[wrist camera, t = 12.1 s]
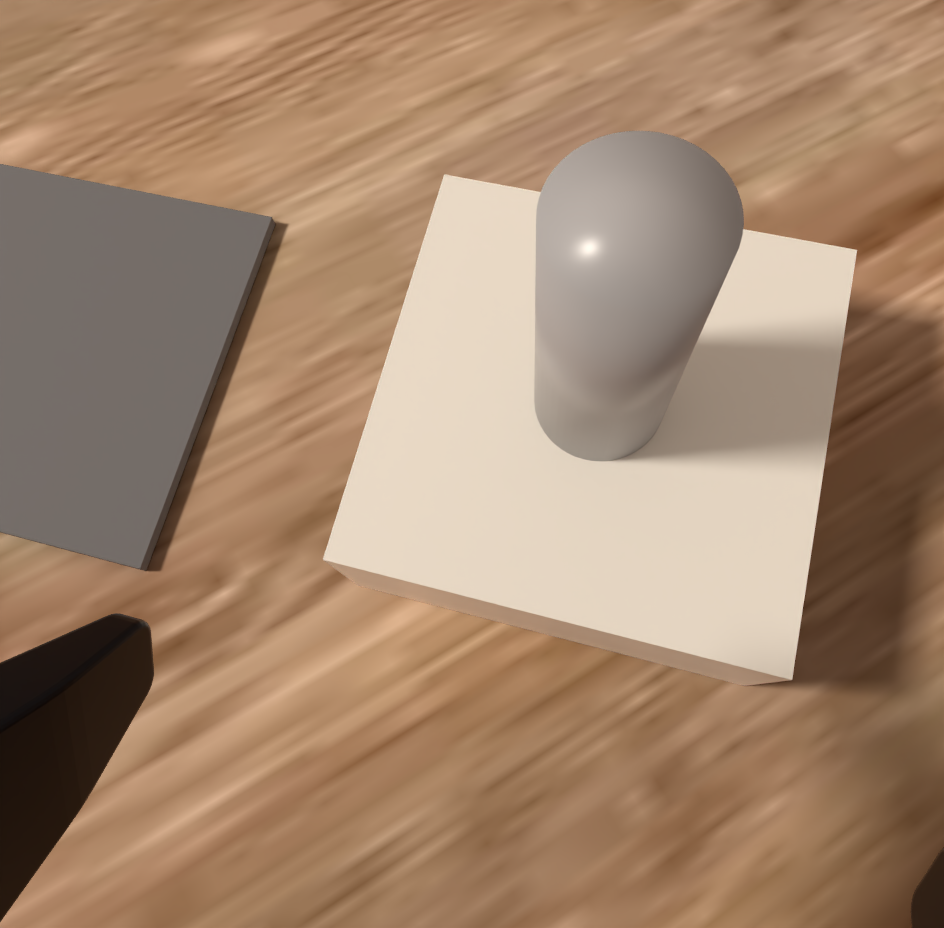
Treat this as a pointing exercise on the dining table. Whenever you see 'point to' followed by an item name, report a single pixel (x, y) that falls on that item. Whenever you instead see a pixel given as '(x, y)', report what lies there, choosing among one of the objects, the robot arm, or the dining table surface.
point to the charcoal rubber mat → (109, 353)
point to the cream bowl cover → (606, 414)
